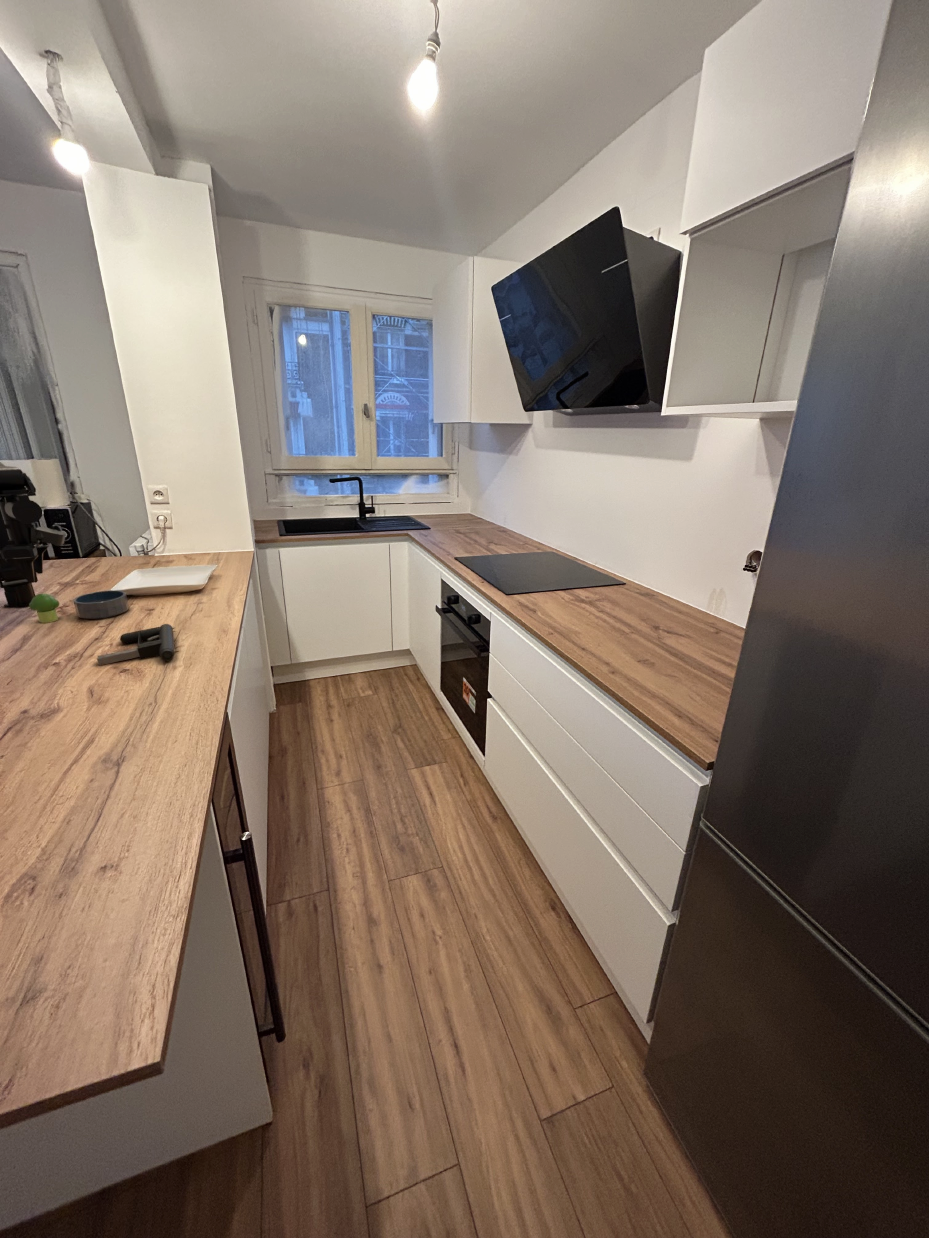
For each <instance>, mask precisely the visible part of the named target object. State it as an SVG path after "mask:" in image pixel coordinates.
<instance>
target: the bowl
mask: <svg viewBox="0 0 929 1238" xmlns="http://www.w3.org/2000/svg"><path fill="white" fill-rule="evenodd" d="M127 596H128V595H126V593H125V592H123V591H113V590H111V591H110V590H100V591H93V592H89V593H85V594H81V595H79V596H76V597H74V598H73V600H72V602H73V606H74V609H75V613H76V616H77V617H79V618H80V619H87V620H100V619H101V620H102V619H107V618H112V617H116V616H120V615H122V614H123V613H125V612H127V611H128V610H129V609H130V606H129V601H128V597H127Z"/></svg>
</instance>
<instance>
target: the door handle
mask: <svg viewBox="0 0 929 1238" xmlns="http://www.w3.org/2000/svg"><path fill="white" fill-rule="evenodd" d="M174 629H175V627H173V626H172V625H171V624H169V623H163V624H161V625H160V626H156V627H151V628H145V629H141V630H135V631H131V632H127V633H126V632H125V633H123V634H121V635H120V637H119V640H120V643H122V644H123V645H124V644H125V645H128V644H132V643H136V642H137V646H136V647H134V648H129V649H125V650H121V651H116V652H111V653H107V654H101V655H98V656H97V657H96V660H97V663H98V666H103V665H108V664H112V663H117V662H118V663H119V662H122V661H126V660H130V659H131V660H132V659H135V658H140V660H144V659H149V658H154V657H158V656H159V657H160V658H161V660H162V661H166V662H169V661H171V660H173V659H174V657H175V654H176V653H178V652H180V651H179V650H177V651H176V649H175V638H174V633H176V632H177V630H176V631H175V630H174ZM156 639H157V640H156ZM143 641H146V642H143Z"/></svg>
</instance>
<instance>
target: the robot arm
mask: <svg viewBox="0 0 929 1238" xmlns="http://www.w3.org/2000/svg"><path fill="white" fill-rule="evenodd" d="M36 492H37V489H36V487H35V485H34V483H33V482H32V480H31V478H30V477H29V476H28V475H27V473H26V472H25V471H23V470H22V469H21V468H20V467H17V466H10V465H9V466H7V465H5V464H4V463H2V462H1V461H0V589H3V591H4V592H3V594H4V597H5V599H6V603H4V604H3V607H5V608H7V607H8V608H9V607H10V608H11V607H12V608H13V607H15V608H18V607H19V608H21V607H23V608H24V607H25V608H27V607H29V604H30V602H31V601H32V599H33V598H34V597H35V596H36V595H37V594H36V592H35V589H34V586H33V583H34V584H35V583H38V581H39V580H38V575H39V574H40V575H41V574H43V573H44V553H45V552H46V551H47V549H48V548H49V547H50V544H51V545H54V546H56V547H62V546H63V545H65V540H66V536H67V535H66V534H67V532H66V531H65V530H63V528H62V526H61V525H57V524H53V525H51V526H50V527H43V526H40V525H39V522H38V521H40V520H41V518H42V517H43V508H42V506H40V504H39V503H38V502H36V501H34V500H32V499H30V497H36V496H37V493H36Z"/></svg>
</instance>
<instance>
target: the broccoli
mask: <svg viewBox="0 0 929 1238" xmlns="http://www.w3.org/2000/svg"><path fill="white" fill-rule="evenodd" d="M35 595H36V596H35V597H34V598H33V599H32V601H31V602H30V604H29V606H28V607H29V609H31V610H32V611H36V614H37V619H38V621H39V623H43V624H47V623H53V622H56V621H58V620H59V616H58V612H57V608H59V606H60V601H59V600H58V599H57V598H55V597H54V596H53V595H51V594H48V593H39V594H35Z"/></svg>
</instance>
